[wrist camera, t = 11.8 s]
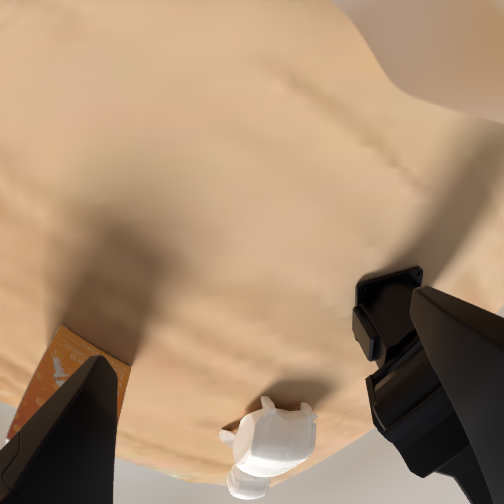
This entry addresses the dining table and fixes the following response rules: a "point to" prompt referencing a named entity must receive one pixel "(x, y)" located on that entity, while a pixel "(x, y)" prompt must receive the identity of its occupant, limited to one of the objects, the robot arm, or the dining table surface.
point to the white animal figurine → (268, 447)
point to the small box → (62, 374)
